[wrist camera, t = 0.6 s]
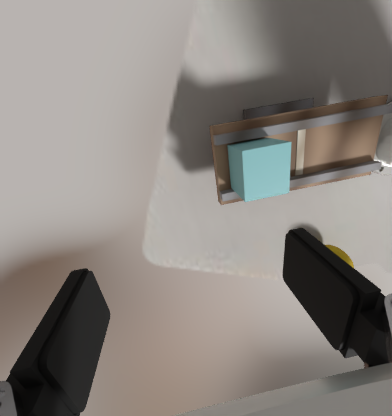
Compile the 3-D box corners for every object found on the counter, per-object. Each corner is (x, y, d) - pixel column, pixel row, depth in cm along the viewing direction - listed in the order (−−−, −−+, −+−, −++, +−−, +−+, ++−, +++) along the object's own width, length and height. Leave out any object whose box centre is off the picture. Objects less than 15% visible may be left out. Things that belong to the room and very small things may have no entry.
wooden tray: (348, 91, 30) (400, 84, 23) (336, 171, 35) (377, 183, 28) (202, 117, 28) (213, 116, 22) (212, 196, 33) (224, 215, 27)
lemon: (308, 237, 40) (341, 263, 32) (333, 237, 41) (370, 263, 33) (300, 260, 42) (329, 289, 35) (324, 259, 43) (356, 288, 36)
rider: (267, 137, 24) (291, 141, 20) (267, 180, 27) (289, 192, 22) (227, 144, 24) (242, 151, 19) (231, 187, 26) (245, 202, 22)
